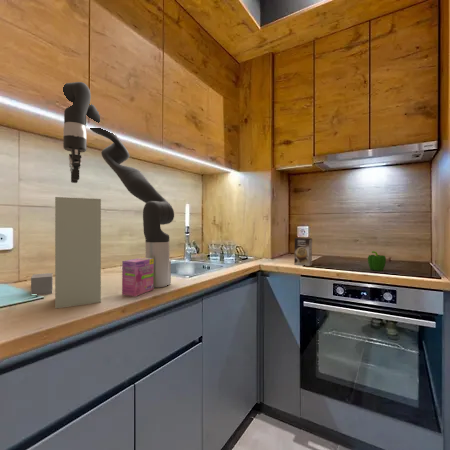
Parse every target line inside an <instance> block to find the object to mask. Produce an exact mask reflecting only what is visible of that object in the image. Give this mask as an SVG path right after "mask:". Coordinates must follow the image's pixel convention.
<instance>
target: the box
mask: <svg viewBox="0 0 450 450" xmlns="http://www.w3.org/2000/svg"><path fill="white" fill-rule="evenodd" d="M121 265H122V269H121V270H122V273H121V279H122V280H121V287H122V288H121V295H122V296H127V297H137V296H140V295H143V294H145V293H148V292H151V291H153V290H154V287H153V267H154V258H146V257H138V258H133V259H127V260H122V264H121Z"/></svg>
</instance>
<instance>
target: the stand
mask: <svg viewBox="0 0 450 450" xmlns="http://www.w3.org/2000/svg"><path fill="white" fill-rule="evenodd" d="M54 199H55V200H54V201H55V202H54V204H55V205H54V211H55V212H54V218H55V219H54V229H55V231H54V233H55V234H54V242H55V243H54V251H55V252H54V254H55V255H54V259H55V262H54V264H55V265H54V267H55V268H54V269H55V270H54V271H55V272H54V274H55V275H54V280H55V281H54V285H55V286H54V287H55V288H54V289H55V290H54V297H55V298H54V304H55V306H54V307H55V309H60V308H69V307H76V306H84V305H85V306H86V305H90V304H91V305H92V304H99V303H101V302H102V301H101V300H102V299H101V296H102V289H101V288H102V280H101V279H102V278H101V276H102V275H101V274H102V273H101V271H102V270H101V268H102V255H101V254H102V251H101V250H102V248H101V246H102V234H101V233H102V231H101V230H102V229H101V228H102V225H101V224H102V219H101V218H102V206H101V205H102V200H101V199H102V198H87V197H86V198H85V197H63V196H62V197H61V196H55V198H54Z"/></svg>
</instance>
